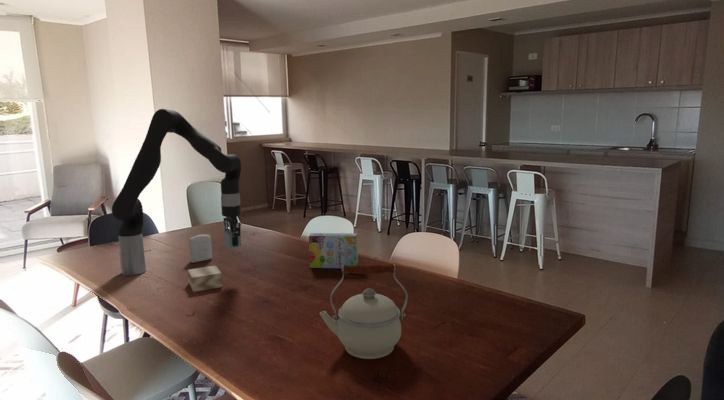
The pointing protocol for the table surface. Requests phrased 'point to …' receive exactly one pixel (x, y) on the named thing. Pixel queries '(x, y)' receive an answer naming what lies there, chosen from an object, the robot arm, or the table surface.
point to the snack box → (333, 250)
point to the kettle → (367, 318)
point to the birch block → (205, 278)
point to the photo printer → (200, 248)
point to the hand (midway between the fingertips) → (233, 244)
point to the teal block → (229, 239)
